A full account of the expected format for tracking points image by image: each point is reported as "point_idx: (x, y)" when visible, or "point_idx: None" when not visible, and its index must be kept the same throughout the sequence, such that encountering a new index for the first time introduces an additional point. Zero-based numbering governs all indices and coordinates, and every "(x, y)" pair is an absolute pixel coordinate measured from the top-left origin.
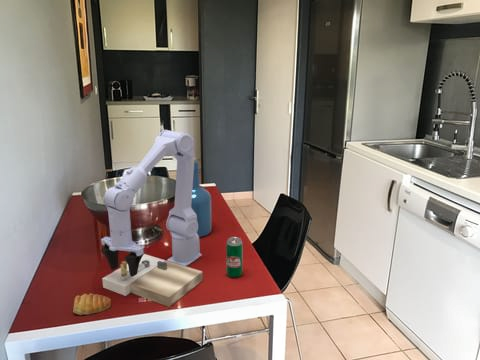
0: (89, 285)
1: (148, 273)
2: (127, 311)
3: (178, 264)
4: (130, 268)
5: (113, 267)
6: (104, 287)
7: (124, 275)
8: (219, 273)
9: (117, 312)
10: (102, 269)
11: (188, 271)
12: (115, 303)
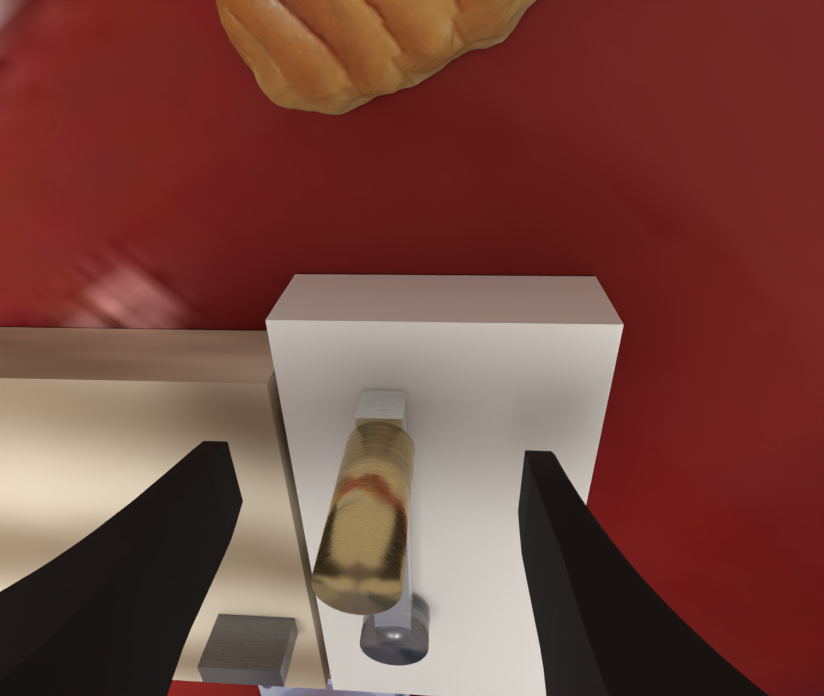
0: (765, 235)
1: (284, 549)
2: (53, 89)
3: None
4: (118, 524)
5: (526, 484)
6: (577, 278)
7: (352, 437)
8: None
9: (106, 14)
10: (806, 472)
11: None
12: (266, 131)
